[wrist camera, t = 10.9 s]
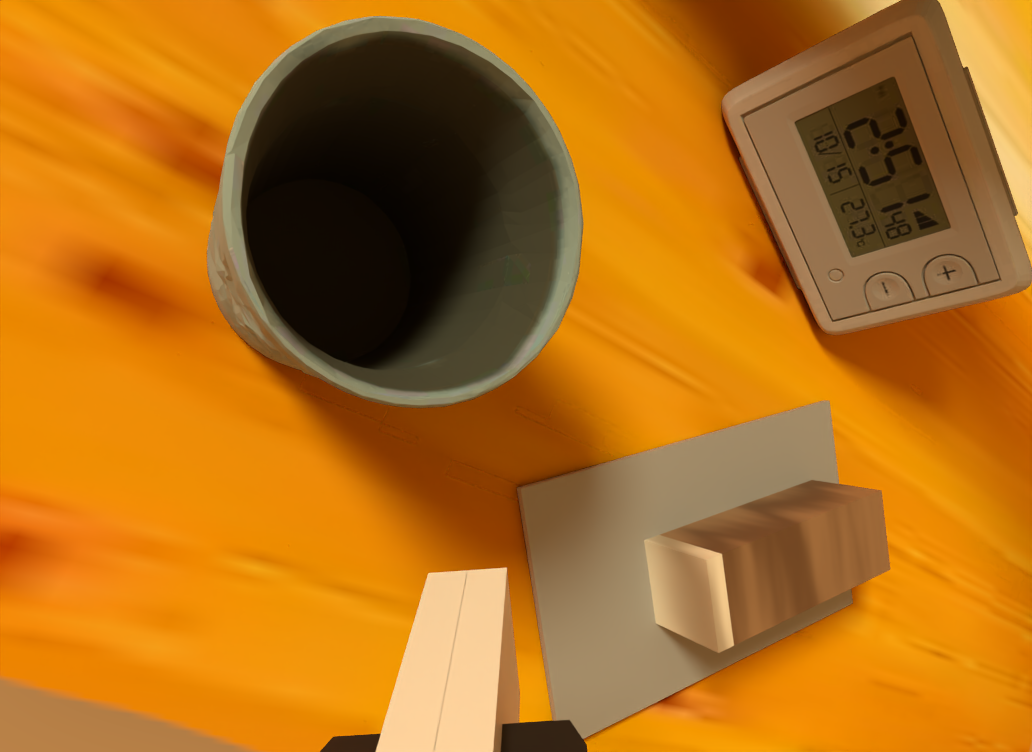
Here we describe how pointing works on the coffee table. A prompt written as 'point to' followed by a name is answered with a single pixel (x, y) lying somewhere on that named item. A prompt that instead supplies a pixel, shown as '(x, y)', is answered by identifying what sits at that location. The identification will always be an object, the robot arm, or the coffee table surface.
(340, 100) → the grey green cup
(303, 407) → the coffee table surface
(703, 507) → the felt mat
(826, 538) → the walnut block
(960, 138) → the digital clock
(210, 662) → the coffee table surface
